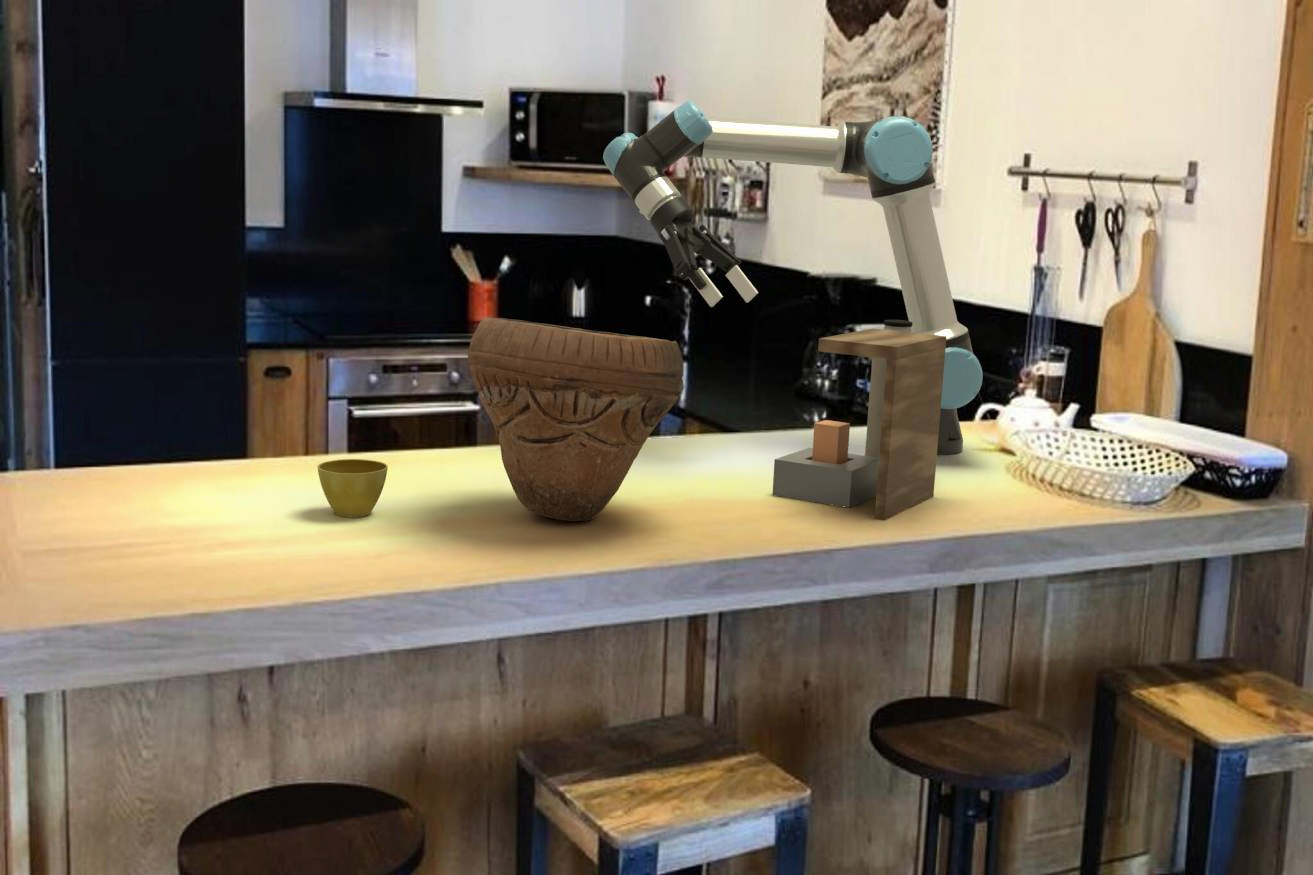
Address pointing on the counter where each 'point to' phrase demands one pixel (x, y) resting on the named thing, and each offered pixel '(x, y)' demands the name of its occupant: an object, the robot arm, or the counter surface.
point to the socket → (826, 479)
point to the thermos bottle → (879, 393)
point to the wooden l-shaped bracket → (903, 411)
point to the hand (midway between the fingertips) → (735, 300)
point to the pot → (571, 407)
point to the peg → (831, 442)
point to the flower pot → (352, 485)
